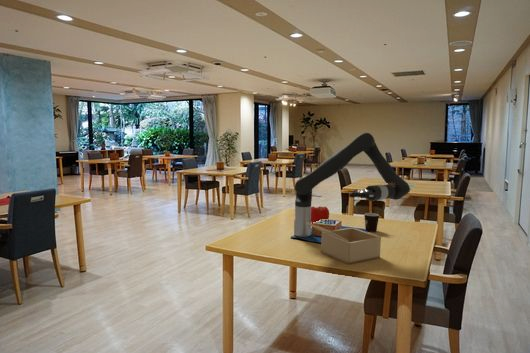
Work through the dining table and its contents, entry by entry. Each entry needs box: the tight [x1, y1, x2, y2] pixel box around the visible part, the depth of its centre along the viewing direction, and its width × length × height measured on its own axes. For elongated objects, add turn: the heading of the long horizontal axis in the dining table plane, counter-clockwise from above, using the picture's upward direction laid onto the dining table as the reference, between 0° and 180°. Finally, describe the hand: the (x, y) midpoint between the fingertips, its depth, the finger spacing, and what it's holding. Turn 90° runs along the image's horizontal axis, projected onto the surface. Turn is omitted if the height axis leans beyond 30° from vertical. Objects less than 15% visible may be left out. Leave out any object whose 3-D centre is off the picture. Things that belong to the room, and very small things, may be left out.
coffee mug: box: [363, 212, 380, 233], centre depth 239 cm, size 12×9×10 cm
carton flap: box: [306, 222, 349, 242], centre depth 183 cm, size 1×19×12 cm
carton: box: [320, 227, 382, 265], centre depth 191 cm, size 20×21×10 cm
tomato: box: [311, 206, 330, 224], centre depth 252 cm, size 13×14×12 cm
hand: (350, 195), depth 188 cm, fingers closed
